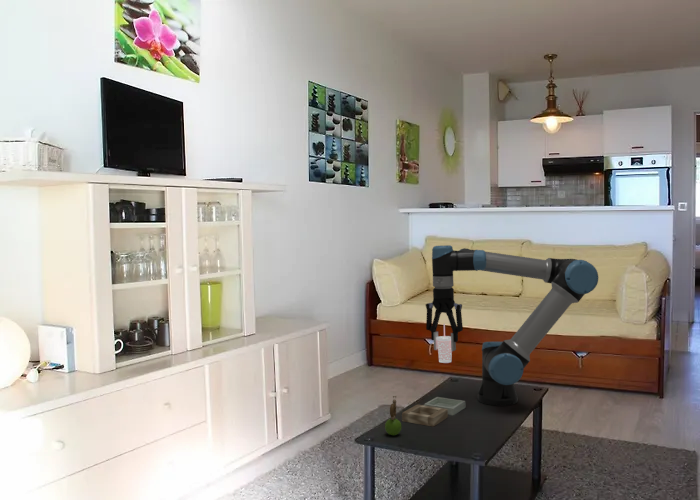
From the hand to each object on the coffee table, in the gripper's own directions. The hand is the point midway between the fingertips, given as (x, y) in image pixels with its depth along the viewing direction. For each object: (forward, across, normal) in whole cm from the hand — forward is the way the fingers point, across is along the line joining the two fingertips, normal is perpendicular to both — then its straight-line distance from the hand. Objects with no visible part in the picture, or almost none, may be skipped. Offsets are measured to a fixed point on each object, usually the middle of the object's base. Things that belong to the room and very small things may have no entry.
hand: (444, 349), depth 235 cm
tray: (+22, -1, +1) cm, 23 cm away
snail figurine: (+22, -5, -34) cm, 41 cm away
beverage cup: (+5, 0, 0) cm, 5 cm away
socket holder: (+22, -2, -14) cm, 27 cm away
